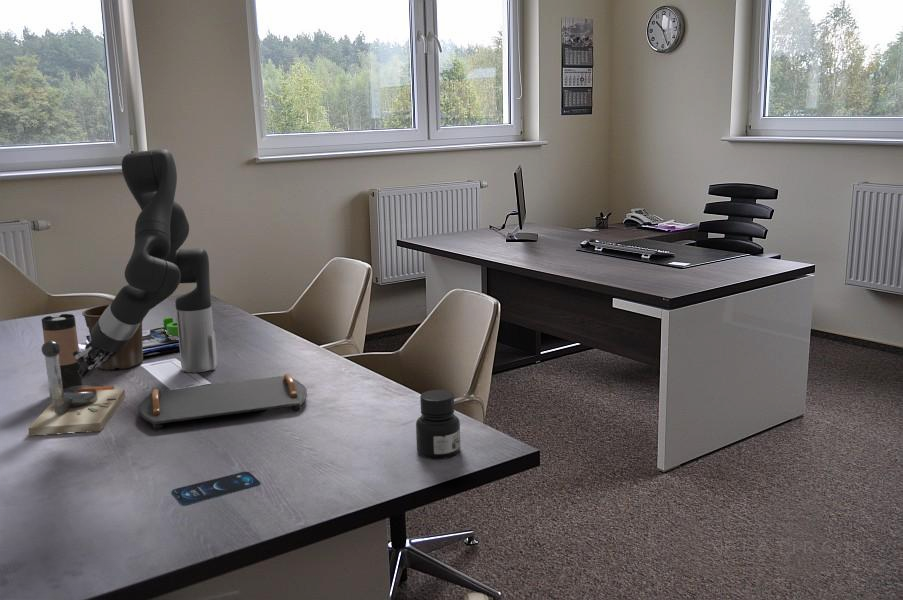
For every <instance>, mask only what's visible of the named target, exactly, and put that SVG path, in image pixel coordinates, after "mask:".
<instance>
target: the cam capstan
mask: <svg viewBox="0 0 903 600" xmlns="http://www.w3.org/2000/svg"><path fill="white" fill-rule="evenodd" d="M59 352H60V346H59V344H58V343H57V342H55V341H47V342H45V343H43V344H42V345H41V354H42V355H43V356H44V360H45V368H46V376H47V384H48V390H49V391H48V392H49V397H50V404H51V406H54V409H55V414H63V413H64V412H66V411H67V410H68V409H70V408H73V407H80V406H85V405H89V404H91V403H94V402H95V401H97V399H98V396H97V391H100V390H115V386H114V385H104V386H95V385H94V386H93V385H89V384H82V385H80V386H72V387H68V388H64V389H63V386H62V378H61V370H60V362H59Z"/></svg>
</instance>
